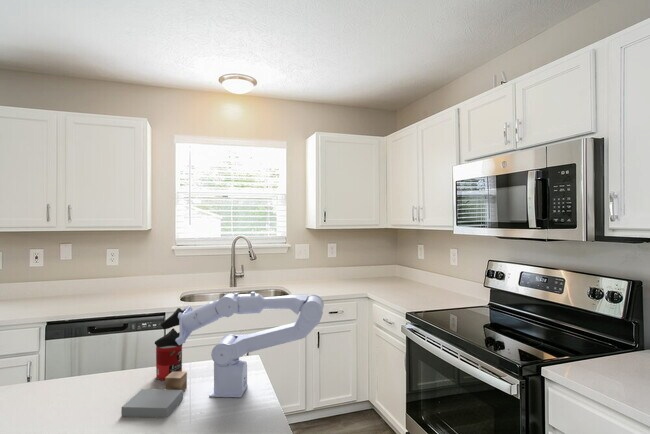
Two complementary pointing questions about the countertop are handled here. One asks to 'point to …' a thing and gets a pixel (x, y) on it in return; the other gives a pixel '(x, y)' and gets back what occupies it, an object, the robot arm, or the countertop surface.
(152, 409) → the slate base
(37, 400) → the countertop surface
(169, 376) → the light brown rectangular block
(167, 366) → the canned food
